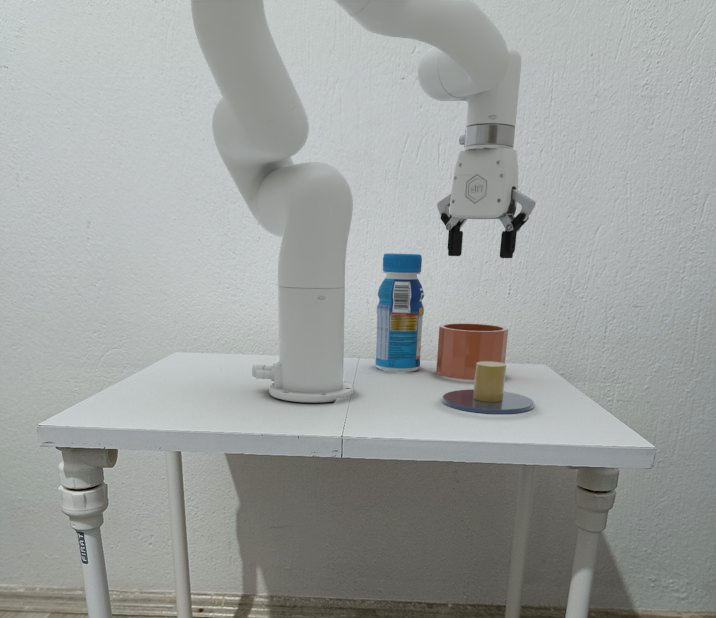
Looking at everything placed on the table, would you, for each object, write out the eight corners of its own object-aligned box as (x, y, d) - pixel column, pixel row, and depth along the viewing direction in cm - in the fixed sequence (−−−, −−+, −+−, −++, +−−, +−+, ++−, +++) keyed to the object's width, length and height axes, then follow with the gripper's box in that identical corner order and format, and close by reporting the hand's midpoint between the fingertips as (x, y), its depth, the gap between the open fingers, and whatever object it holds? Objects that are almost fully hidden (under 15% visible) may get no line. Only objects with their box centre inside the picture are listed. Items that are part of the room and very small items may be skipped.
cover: (441, 415, 90) (444, 369, 87) (442, 395, 101) (445, 354, 99) (538, 420, 88) (543, 374, 86) (528, 399, 100) (532, 358, 98)
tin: (435, 381, 112) (438, 329, 109) (437, 368, 123) (440, 322, 120) (505, 384, 110) (510, 332, 107) (500, 372, 121) (505, 324, 118)
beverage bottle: (365, 368, 121) (368, 253, 115) (393, 363, 127) (398, 253, 121) (402, 374, 116) (407, 254, 109) (429, 369, 122) (436, 254, 115)
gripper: (429, 142, 106) (423, 255, 111) (529, 133, 95) (516, 259, 101) (455, 147, 111) (447, 255, 117) (551, 140, 101) (538, 259, 107)
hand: (479, 256), depth 109 cm, fingers open, 9 cm apart
